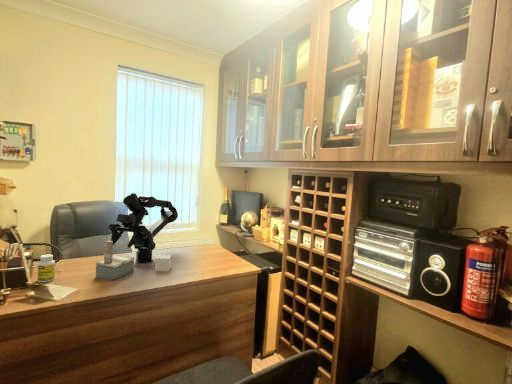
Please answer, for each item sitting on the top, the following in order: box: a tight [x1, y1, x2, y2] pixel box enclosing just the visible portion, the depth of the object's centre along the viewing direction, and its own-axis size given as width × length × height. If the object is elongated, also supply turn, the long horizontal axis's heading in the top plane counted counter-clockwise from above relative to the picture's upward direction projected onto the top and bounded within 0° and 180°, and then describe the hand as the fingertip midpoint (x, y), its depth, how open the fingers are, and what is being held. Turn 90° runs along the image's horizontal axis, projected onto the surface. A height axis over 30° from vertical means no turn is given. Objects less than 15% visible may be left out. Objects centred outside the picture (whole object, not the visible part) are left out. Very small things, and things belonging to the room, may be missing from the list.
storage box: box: [95, 259, 135, 281], centre depth 119 cm, size 12×9×5 cm
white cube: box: [154, 254, 172, 272], centre depth 129 cm, size 6×6×6 cm
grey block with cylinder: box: [95, 240, 135, 268], centre depth 119 cm, size 12×9×10 cm
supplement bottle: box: [36, 253, 56, 283], centre depth 109 cm, size 5×5×10 cm
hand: (119, 246), depth 121 cm, fingers open, 9 cm apart
